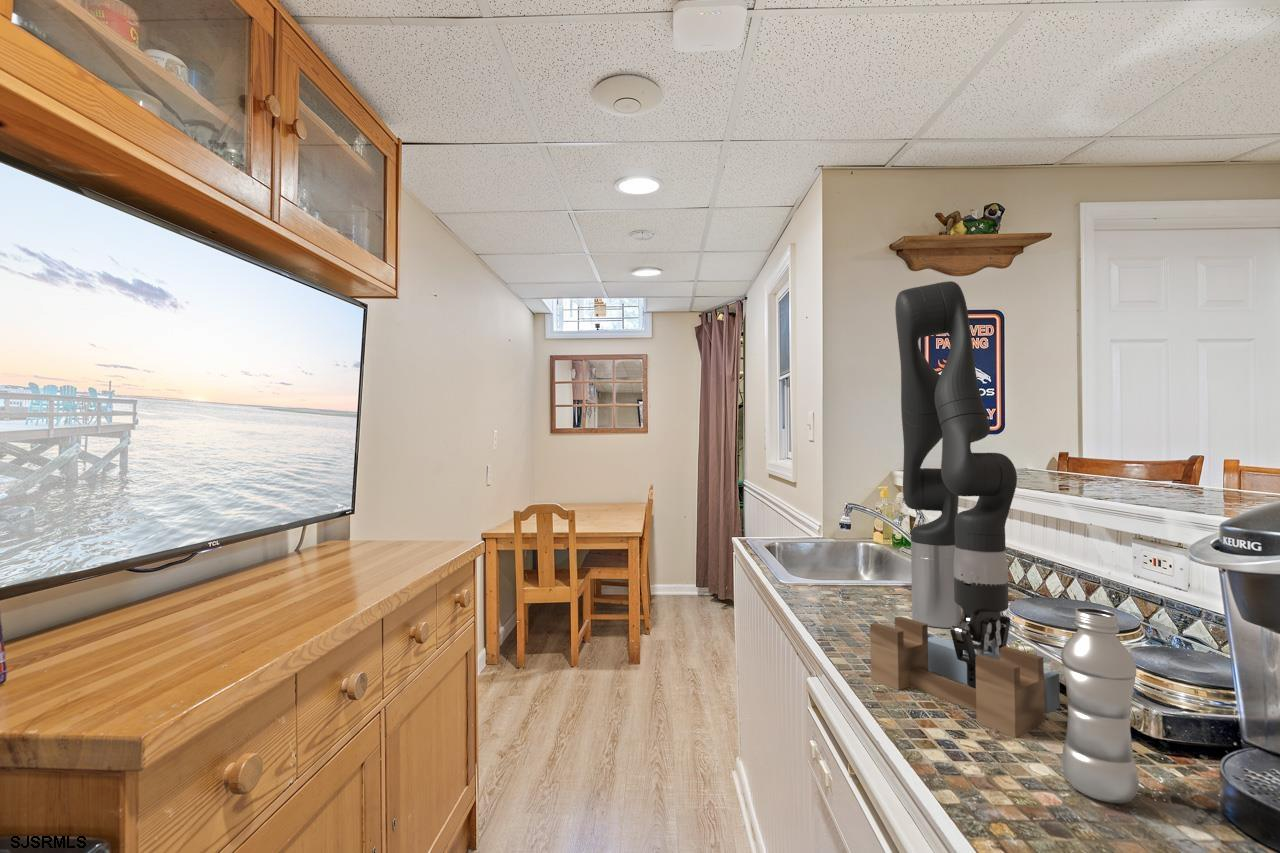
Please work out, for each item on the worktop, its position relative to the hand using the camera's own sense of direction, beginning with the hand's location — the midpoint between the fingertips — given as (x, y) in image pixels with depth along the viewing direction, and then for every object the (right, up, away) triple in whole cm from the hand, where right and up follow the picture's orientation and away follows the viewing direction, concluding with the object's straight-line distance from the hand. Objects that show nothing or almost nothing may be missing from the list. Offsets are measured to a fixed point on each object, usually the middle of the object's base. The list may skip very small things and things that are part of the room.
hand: (982, 684), depth 91 cm
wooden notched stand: (-8, 0, -5) cm, 9 cm away
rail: (0, 0, 0) cm, 0 cm away
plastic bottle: (-4, 0, -28) cm, 28 cm away
